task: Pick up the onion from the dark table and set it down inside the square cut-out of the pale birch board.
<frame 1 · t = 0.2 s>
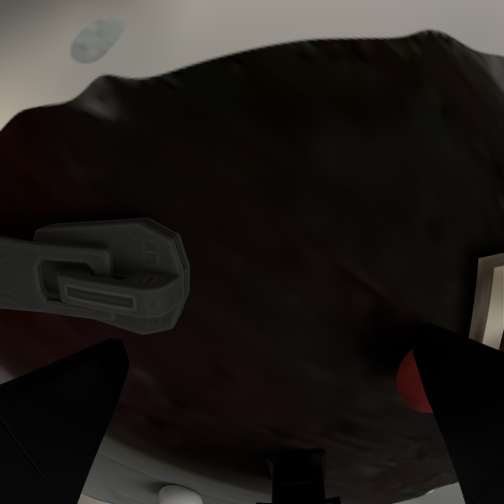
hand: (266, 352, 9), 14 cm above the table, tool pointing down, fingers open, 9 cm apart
garlic bulb: (182, 491, 34), on the table
onion: (414, 350, 24), on the table
zipper pull: (63, 259, 25), on the table
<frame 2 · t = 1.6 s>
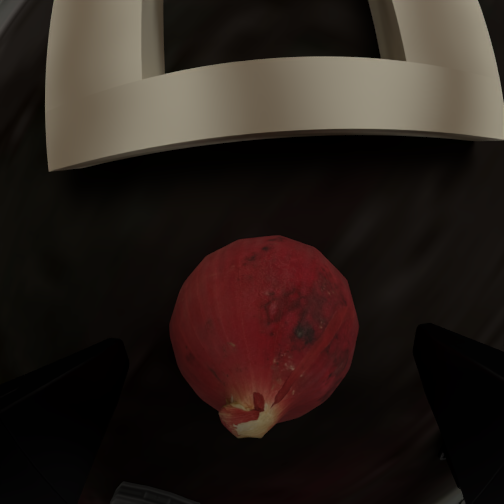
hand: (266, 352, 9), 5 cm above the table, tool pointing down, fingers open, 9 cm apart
onion: (268, 282, 13), on the table
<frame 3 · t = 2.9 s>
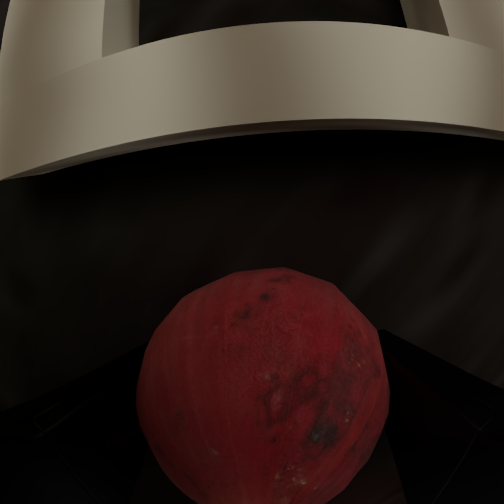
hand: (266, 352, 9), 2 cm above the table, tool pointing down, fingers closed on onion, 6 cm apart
onion: (269, 316, 11), on the table, touching gripper
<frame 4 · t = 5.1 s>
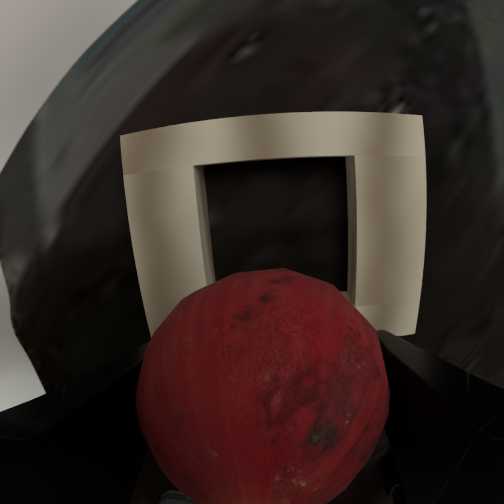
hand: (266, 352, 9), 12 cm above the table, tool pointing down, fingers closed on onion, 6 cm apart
onion: (268, 316, 11), point 10 cm above the table, touching gripper
cutout board: (279, 229, 20), on the table
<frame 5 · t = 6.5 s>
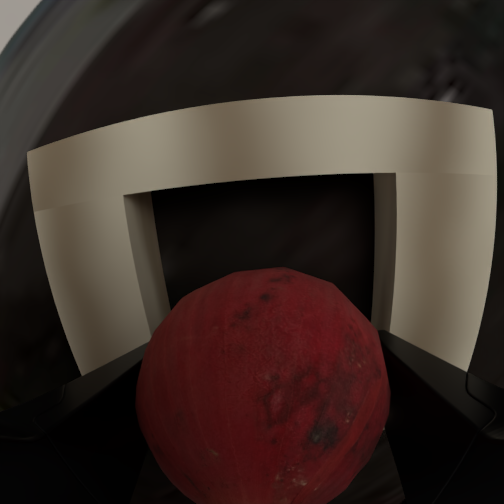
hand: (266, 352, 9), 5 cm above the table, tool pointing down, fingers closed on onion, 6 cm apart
onion: (268, 316, 11), point 3 cm above the table, touching gripper
cutout board: (268, 285, 13), on the table
when the fingers open (3 cm above the table, at t = 7.7 s): onion drops 1 cm, resting in cutout board.
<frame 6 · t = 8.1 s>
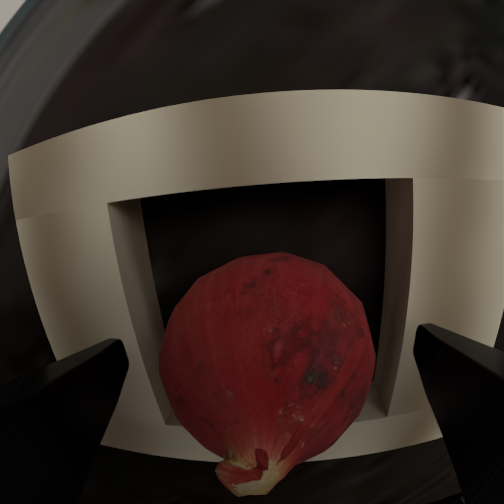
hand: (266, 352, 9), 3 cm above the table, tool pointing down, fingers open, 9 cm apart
onion: (271, 300, 12), resting in cutout board
cutout board: (269, 300, 12), on the table
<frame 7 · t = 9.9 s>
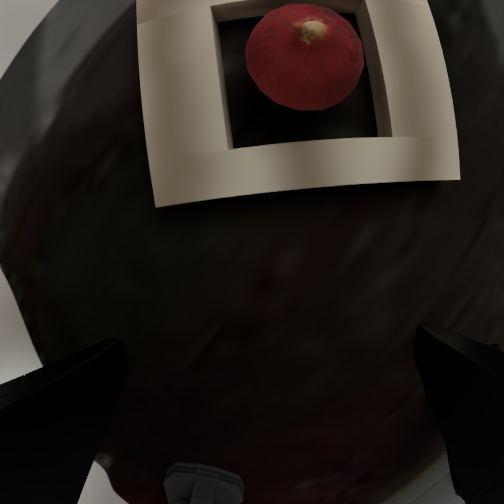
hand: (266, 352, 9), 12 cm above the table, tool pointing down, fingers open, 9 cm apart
onion: (299, 75, 17), resting in cutout board
cutout board: (298, 73, 17), on the table
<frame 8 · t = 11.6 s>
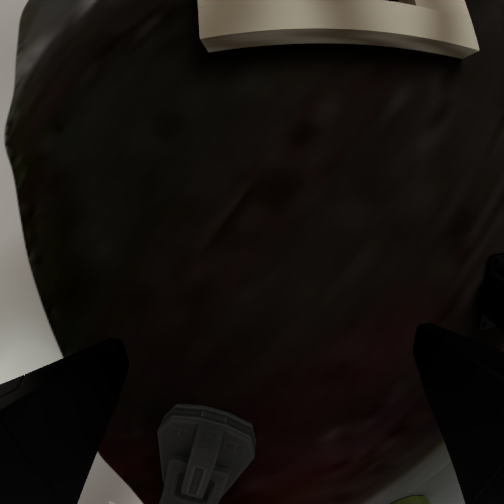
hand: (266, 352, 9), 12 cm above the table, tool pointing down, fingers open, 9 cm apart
zipper pull: (196, 472, 28), on the table
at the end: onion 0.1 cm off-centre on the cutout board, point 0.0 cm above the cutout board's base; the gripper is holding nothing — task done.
